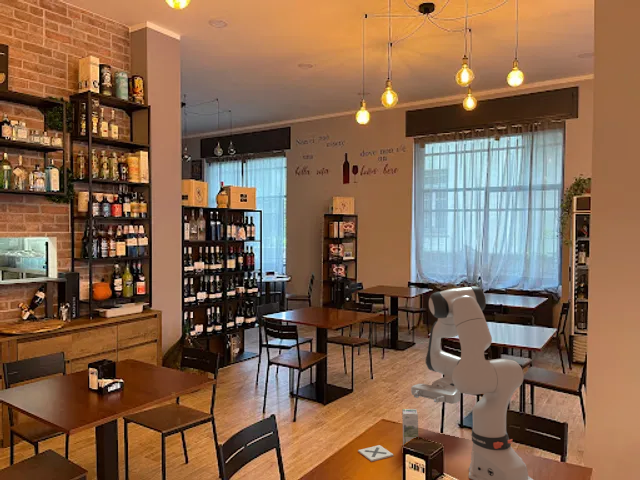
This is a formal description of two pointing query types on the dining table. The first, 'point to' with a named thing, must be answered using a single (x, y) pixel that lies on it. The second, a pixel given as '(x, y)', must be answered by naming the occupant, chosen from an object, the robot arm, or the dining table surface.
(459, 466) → the dining table surface
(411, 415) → the syrup box
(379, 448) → the letter card
